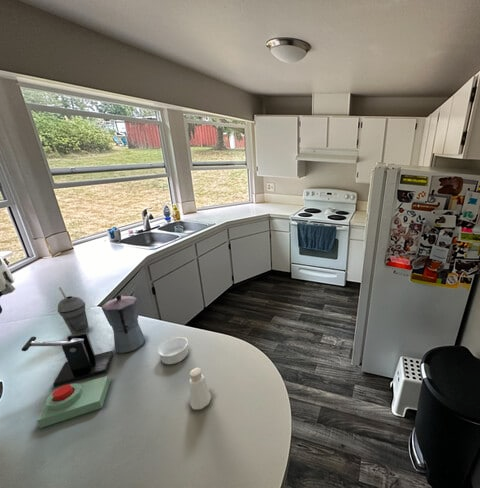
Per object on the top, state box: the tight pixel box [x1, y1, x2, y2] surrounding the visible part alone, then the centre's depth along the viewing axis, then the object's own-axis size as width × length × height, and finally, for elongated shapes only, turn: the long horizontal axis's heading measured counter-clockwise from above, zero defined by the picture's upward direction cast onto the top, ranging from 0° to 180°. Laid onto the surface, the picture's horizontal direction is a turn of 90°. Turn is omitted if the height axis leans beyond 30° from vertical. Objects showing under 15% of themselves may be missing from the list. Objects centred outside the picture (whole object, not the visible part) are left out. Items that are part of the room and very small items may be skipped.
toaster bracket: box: [52, 332, 114, 388], centre depth 78 cm, size 12×9×12 cm
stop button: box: [51, 384, 73, 401], centre depth 66 cm, size 4×4×2 cm
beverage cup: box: [57, 286, 90, 335], centre depth 91 cm, size 7×7×20 cm
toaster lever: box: [21, 336, 84, 352], centre depth 74 cm, size 12×5×2 cm, turn 117°
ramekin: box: [157, 336, 189, 365], centre depth 85 cm, size 9×9×4 cm
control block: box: [36, 375, 111, 429], centre depth 68 cm, size 12×9×4 cm
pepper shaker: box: [188, 367, 212, 410], centre depth 69 cm, size 5×5×11 cm
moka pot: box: [101, 294, 146, 354], centre depth 86 cm, size 10×15×20 cm, turn 44°
